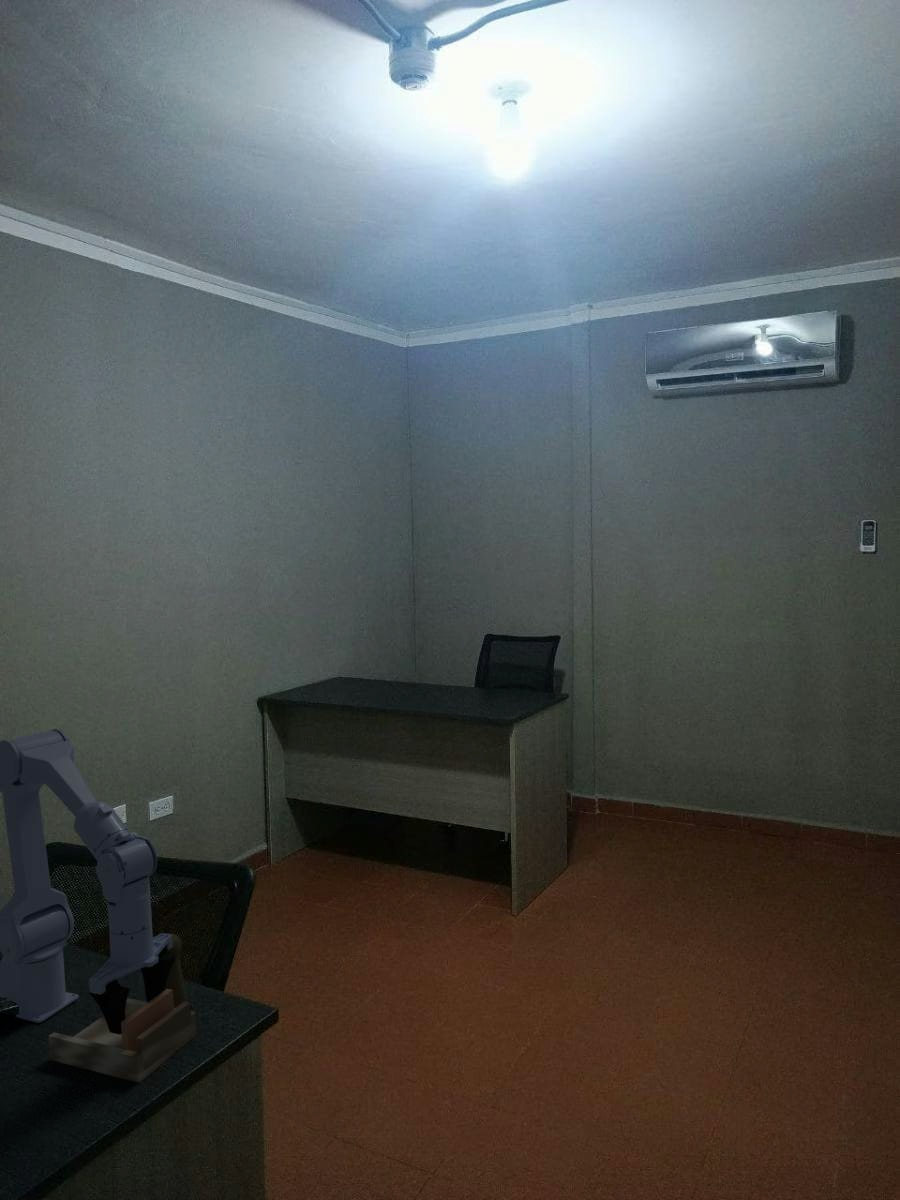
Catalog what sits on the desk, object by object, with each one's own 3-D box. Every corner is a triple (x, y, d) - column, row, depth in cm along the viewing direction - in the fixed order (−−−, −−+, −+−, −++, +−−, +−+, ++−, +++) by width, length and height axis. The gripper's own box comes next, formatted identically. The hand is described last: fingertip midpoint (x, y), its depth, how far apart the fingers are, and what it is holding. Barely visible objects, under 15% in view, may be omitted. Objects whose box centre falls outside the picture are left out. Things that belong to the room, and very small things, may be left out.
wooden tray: (50, 1059, 124) (47, 1022, 124) (112, 1016, 135) (110, 981, 135) (139, 1082, 118) (136, 1043, 118) (196, 1035, 129) (194, 999, 129)
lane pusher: (123, 1063, 121) (120, 1021, 120) (169, 1027, 129) (167, 988, 129) (129, 1064, 120) (126, 1023, 120) (175, 1028, 129) (172, 989, 128)
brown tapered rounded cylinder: (175, 1016, 134) (171, 947, 134) (139, 1013, 136) (135, 945, 135) (194, 996, 140) (190, 929, 140) (160, 993, 142) (156, 927, 141)
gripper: (115, 952, 116) (121, 1051, 117) (186, 908, 130) (192, 997, 130) (74, 945, 119) (81, 1041, 120) (149, 902, 132) (154, 989, 133)
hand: (136, 1017), depth 125 cm, fingers open, 7 cm apart
